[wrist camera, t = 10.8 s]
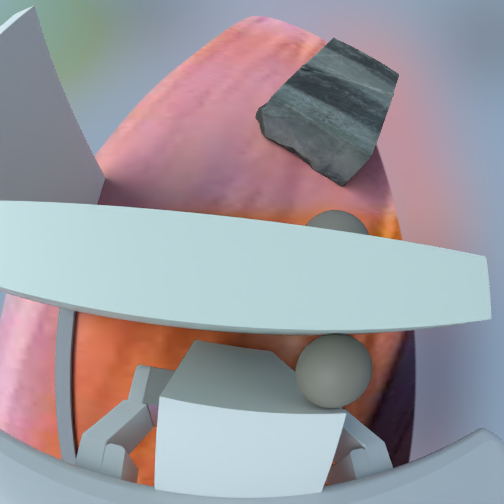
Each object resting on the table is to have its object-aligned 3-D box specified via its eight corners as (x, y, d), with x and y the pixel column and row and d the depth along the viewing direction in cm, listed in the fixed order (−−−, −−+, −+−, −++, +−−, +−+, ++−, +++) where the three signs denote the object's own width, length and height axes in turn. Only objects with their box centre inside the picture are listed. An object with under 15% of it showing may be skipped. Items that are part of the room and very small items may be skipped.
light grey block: (271, 351, 14) (346, 413, 5) (259, 417, 13) (306, 527, 4) (195, 339, 13) (159, 396, 5) (185, 408, 13) (154, 518, 4)
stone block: (243, 133, 20) (253, 84, 15) (308, 65, 25) (322, 30, 20) (341, 191, 20) (375, 153, 15) (378, 105, 25) (400, 74, 20)
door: (292, 285, 17) (466, 175, 4) (288, 364, 15) (484, 411, 3) (64, 260, 15) (-80, 146, 2) (55, 334, 13) (-121, 306, 1)
